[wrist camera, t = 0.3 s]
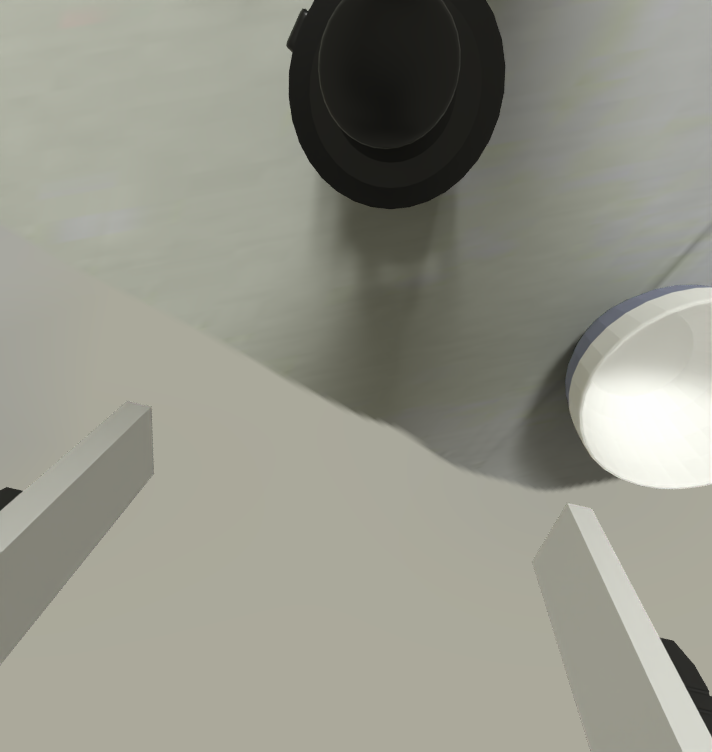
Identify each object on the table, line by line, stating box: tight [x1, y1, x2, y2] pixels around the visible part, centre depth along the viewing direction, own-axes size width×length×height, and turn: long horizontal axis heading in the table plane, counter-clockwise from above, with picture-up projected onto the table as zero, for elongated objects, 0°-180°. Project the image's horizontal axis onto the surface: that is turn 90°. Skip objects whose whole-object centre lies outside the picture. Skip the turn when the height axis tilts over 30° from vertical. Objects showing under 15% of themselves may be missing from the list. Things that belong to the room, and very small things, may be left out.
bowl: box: [565, 285, 712, 489], centre depth 34 cm, size 16×16×10 cm
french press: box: [286, 0, 505, 209], centre depth 22 cm, size 12×9×23 cm
